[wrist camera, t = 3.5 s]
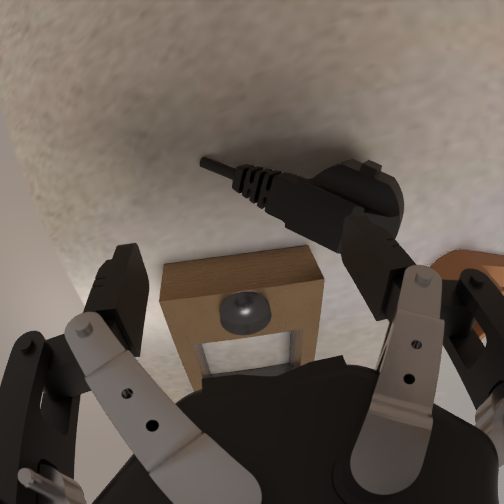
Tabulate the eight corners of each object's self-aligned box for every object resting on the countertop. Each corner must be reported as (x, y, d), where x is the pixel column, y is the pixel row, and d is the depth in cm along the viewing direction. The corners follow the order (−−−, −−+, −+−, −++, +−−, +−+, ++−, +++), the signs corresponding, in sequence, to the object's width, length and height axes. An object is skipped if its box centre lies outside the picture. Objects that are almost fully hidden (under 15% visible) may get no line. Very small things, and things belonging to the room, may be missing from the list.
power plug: (202, 118, 17) (414, 201, 13) (266, 115, 22) (419, 175, 18) (188, 205, 20) (367, 297, 16) (250, 181, 25) (388, 245, 21)
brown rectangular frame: (163, 264, 23) (158, 310, 19) (308, 245, 24) (328, 286, 20) (201, 381, 33) (204, 419, 29) (299, 367, 33) (309, 403, 29)
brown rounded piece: (401, 309, 31) (431, 358, 25) (436, 245, 26) (478, 292, 21) (489, 304, 35) (514, 338, 29) (518, 256, 30) (548, 289, 24)
